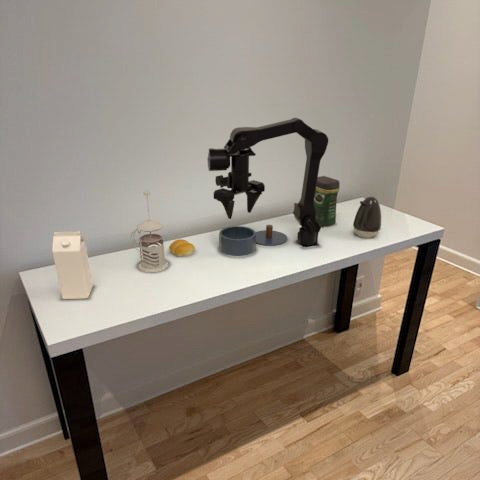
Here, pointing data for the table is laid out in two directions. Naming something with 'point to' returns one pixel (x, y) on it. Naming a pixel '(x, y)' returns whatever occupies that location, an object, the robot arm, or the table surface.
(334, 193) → the coffee jar
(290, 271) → the table surface
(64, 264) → the milk carton
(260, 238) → the pot lid
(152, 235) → the french press
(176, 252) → the bread roll
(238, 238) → the pot
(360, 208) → the dark grey rounded figure
